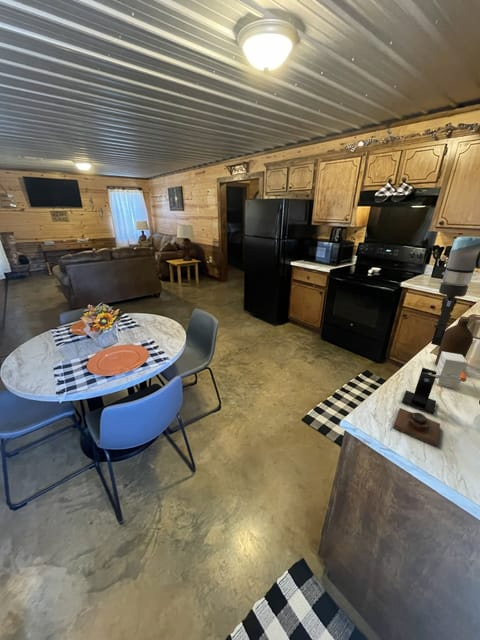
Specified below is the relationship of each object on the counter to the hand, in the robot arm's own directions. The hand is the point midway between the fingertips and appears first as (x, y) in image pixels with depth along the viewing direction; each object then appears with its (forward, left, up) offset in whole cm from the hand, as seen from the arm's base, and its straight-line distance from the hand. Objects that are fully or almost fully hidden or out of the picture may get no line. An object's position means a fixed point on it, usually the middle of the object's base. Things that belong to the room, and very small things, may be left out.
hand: (437, 338), depth 99 cm
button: (-2, +26, -20) cm, 33 cm away
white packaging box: (-8, -12, -23) cm, 27 cm away
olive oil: (-8, -28, -23) cm, 37 cm away
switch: (-5, +11, -10) cm, 16 cm away
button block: (-2, +26, -23) cm, 35 cm away
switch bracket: (-1, +11, -23) cm, 26 cm away
